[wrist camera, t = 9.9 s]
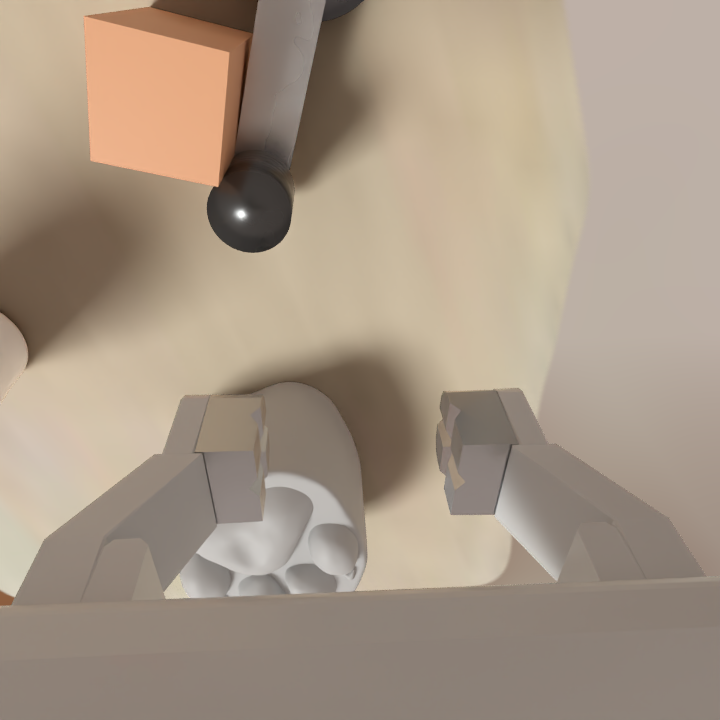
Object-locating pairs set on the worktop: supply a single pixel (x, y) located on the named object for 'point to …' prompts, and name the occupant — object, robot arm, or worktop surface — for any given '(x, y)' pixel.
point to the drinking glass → (11, 355)
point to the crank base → (338, 8)
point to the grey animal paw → (293, 510)
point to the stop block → (164, 92)
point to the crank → (267, 128)
